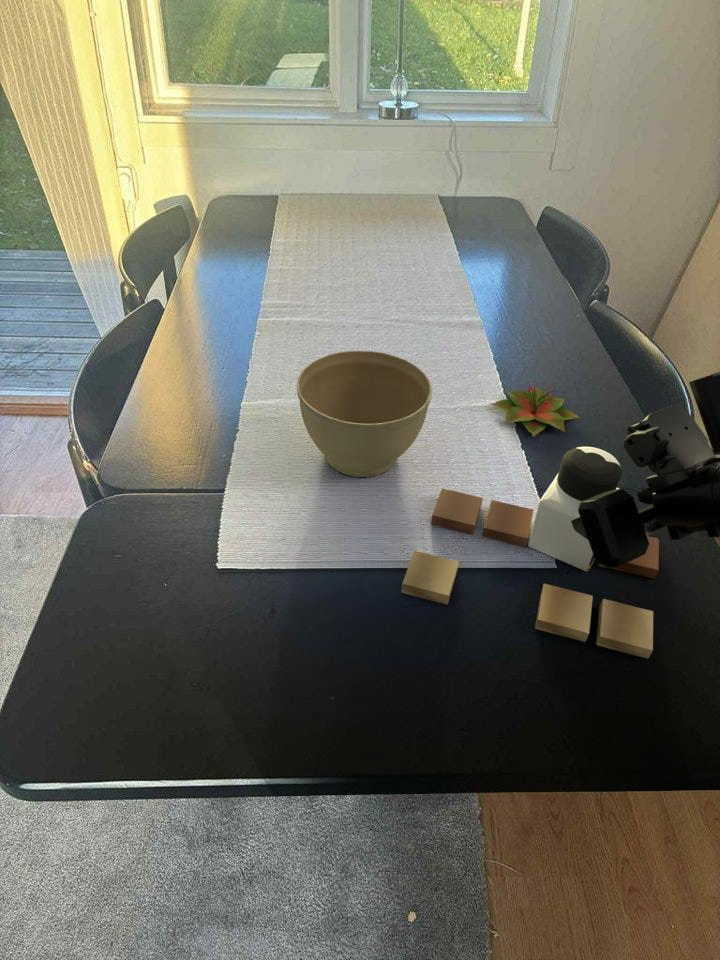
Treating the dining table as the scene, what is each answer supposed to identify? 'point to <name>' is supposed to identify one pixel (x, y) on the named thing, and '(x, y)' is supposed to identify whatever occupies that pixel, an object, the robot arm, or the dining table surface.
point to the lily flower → (535, 409)
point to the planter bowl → (363, 409)
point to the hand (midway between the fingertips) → (607, 510)
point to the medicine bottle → (572, 504)
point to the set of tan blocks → (546, 608)
